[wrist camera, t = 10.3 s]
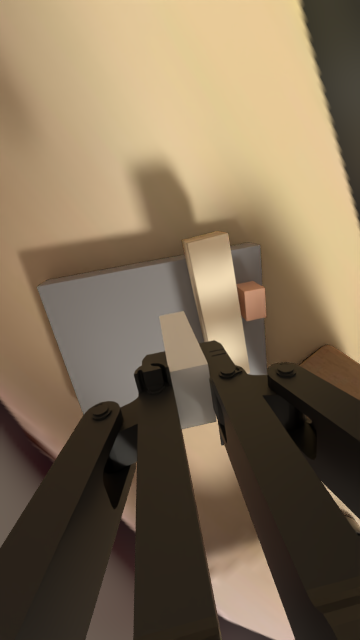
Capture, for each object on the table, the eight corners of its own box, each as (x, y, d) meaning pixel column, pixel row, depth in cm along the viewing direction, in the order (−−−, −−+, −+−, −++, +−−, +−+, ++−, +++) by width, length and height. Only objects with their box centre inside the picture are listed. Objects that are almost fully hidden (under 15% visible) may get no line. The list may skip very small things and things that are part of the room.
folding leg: (242, 375, 32) (253, 393, 29) (213, 383, 32) (221, 402, 29) (217, 231, 26) (227, 233, 23) (181, 240, 26) (187, 243, 23)
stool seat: (258, 373, 36) (279, 401, 31) (92, 409, 35) (82, 446, 29) (249, 242, 30) (273, 248, 25) (46, 280, 29) (24, 295, 23)
